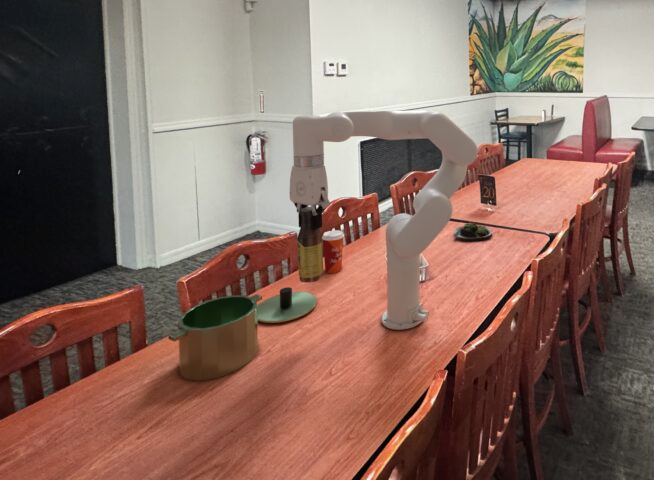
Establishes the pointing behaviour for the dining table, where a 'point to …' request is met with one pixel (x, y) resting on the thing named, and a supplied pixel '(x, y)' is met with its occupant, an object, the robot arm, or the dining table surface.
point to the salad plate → (472, 232)
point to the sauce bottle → (309, 249)
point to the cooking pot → (217, 336)
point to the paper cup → (333, 250)
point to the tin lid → (285, 306)
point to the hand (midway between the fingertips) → (310, 226)
